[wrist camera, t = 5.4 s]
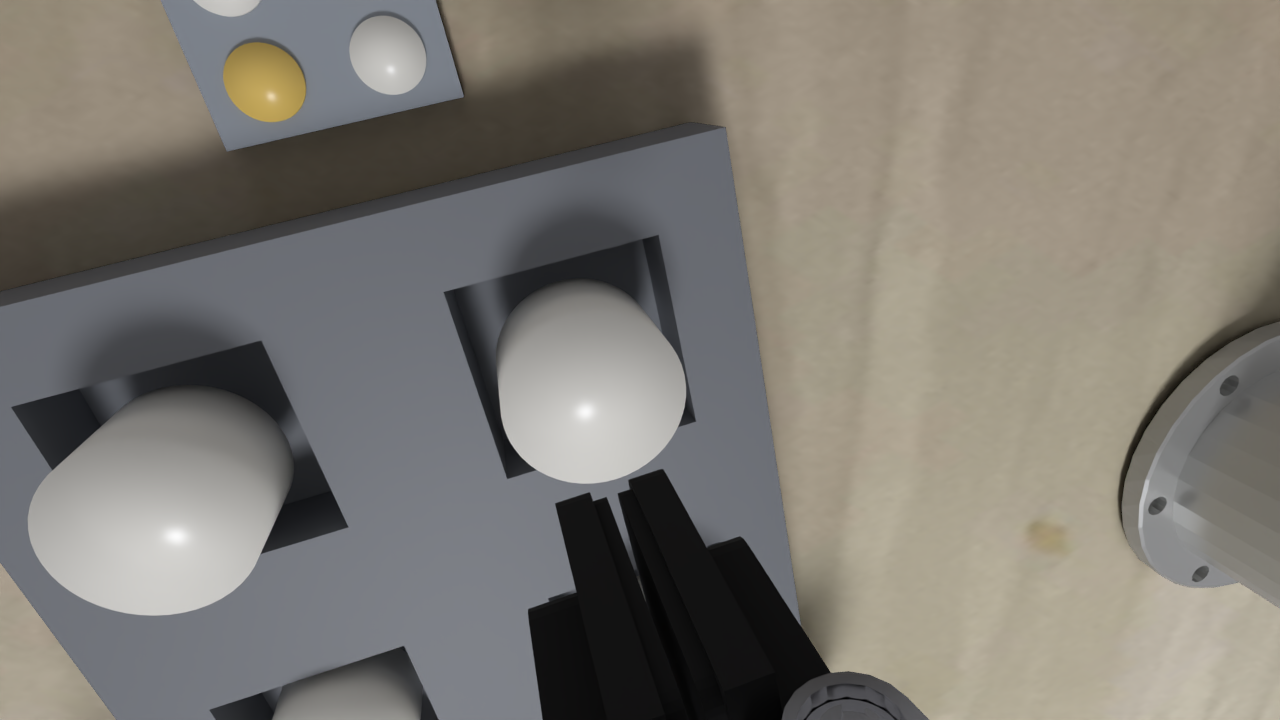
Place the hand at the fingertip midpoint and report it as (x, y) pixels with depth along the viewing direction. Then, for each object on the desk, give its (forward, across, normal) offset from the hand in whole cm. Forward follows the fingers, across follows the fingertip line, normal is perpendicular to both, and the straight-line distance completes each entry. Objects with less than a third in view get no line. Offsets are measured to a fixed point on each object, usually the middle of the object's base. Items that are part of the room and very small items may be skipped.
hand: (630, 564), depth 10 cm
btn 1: (+9, -1, 0) cm, 9 cm away
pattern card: (+12, +3, -9) cm, 15 cm away
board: (+12, +4, +5) cm, 14 cm away
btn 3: (+9, +9, 0) cm, 13 cm away
